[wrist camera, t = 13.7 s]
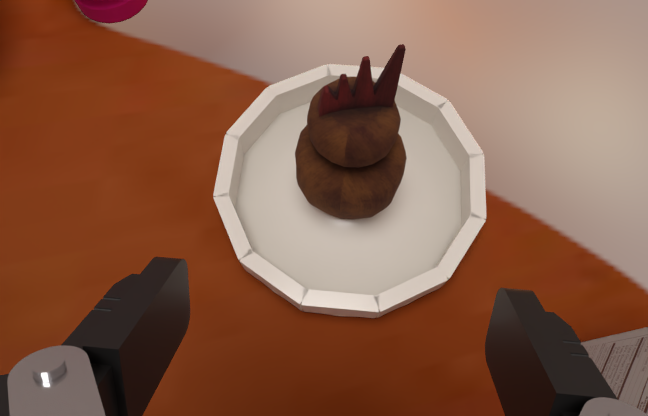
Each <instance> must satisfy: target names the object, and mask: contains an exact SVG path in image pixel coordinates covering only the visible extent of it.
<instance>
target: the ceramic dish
mask: <svg viewBox="0 0 648 416" xmlns="http://www.w3.org/2000/svg"><path fill="white" fill-rule="evenodd" d="M359 68H360V66H351V65H338V64H328V66H327V65H326V64H325V65H323V66H320V67H318V68H315V69H312V70H310V71H308V72H304V73H302V74H299V75H297V76H294V77H292V78H289V79H286V80H284V81H281V82H278V83H276V84H273V85H270V86H268V88H266V89H265V90H264V91H263V92H262V93H261V94H260V95H259V97H258V98H257V99H256V100H255V101H254V102H253V103H252V104H251V106H250V107H249V108H248V109H247V110H246V111H245V112H244V113H243V114H242V116H241V117H240V118H239V119H238V120H237V121H236V122H235V123H234V125H233V126H232V127H231V128H230V129H229V130H228V131H227V132H226V135H225V138H224V143H223V148H222V153H221V158H220V163H219V168H218V174H217V179H216V184H215V189H214V194H213V196H214V197H213V198H214V200H215V203H216V205H217V208H218V210H219V213H220V215H221V218H222V220H223V223H224V225H225V228H226V230H227V233H228V235H229V238H230V240H231V243H232V245H233V247H234V250H235V252H236V255H237V257H238V260H239V261H240V263H241V264H242V266H243V267H244V269H245V270H246V271H247V272H248V273H250V274H251V275H253V276H254V277H255V278H257V279H258V280H260V281H261V282H262V283H264V284H265V285H266V286H267V287H268V288H270V289H271V290H272V291H273V292H275V293H276V294H278V295H279V296H281V297H283V298H284V299H286V300H287V301H289V302H290V303H291V304H293V305H294V306H295V307H297V308H298V309H300V310H301V311H302V310H303V312H313V313H321V314H327V315H333V316H343V317H366V318H375V317H377V318H378V317H380V316H382V315H384V314H386V313H388V312H390V311H393V310H395V309H397V308H400V307H402V306H405V305H407V304H409V303H411V302H413V301H414V300H416V299H418V298H420V297H422V296H424V295H426V294H428V293H430V292H433V291H435V290H437V289H439V288H440V287H442V286H443V285H444V284H445V283H446V282H447V281H448V280H449V279H450V277H451V276H452V274H453V272H454V271H455V269H456V268H457V266H458V264H459V263H460V261H461V260H462V258H463V256H464V255H465V253H466V251H467V250H468V248H469V247H470V245H471V243H472V242H473V240H474V239H475V237H476V235H477V234H478V232H479V231H480V229H481V227H482V226H483V224H484V223H485V221H486V193H485V166H484V165H485V162H484V155H483V151H482V150H481V148H480V147H479V145H478V144H477V142H476V141H475V139H474V138H473V136H472V135H471V133H470V131H469V130H468V129H467V127H466V125H465V124H464V122H463V121H462V119H461V118H460V116H459V115H458V113H457V112H456V110H455V109H454V107H453V106H452V104H451V103H450V101H448V99H446V98H444V97H443V96H441V95H439V94H437V93H435V92H433V91H432V90H430V89H428V88H426V87H425V86H423V85H421V84H419V83H417V82H416V81H414V80H412V79H410V78H408V77H407V76H405V75H403V74H401V73H400V77H399V82H398V87H397V92H396V96H395V103H396V105H397V108H398V111H399V114H400V118H401V122H400V128H399V132H398V134H399V135H400V136H401V138H402V141H403V145H404V148H405V151H406V158H407V159H406V164H405V170H404V175H403V177H402V180H401V183H400V185H399V187H398V189H397V191H396V193H395V196H394V198H393V200H392V202H391V204H390V205H389V206H388V207H387V208H385V209H384V210H382V211H381V212H379V213H378V214H376V215H375V216H373V217H370V218H363V219H354V220H350V219H340V218H337V217H334V216H331V215H329V214H326V213H325V212H323V211H321V210H319V209H318V208H316V207H314V206H312V205H311V204H310V203H309V202H308V201H307V199H306V198H305V196H304V194H303V193H302V191H301V189H300V188H299V186H298V183H297V179H296V159H295V150H296V147H297V143H298V139H299V136H300V133H301V131H302V130H303V129H304V127H305V126H306V125H307V115H308V111H309V106H310V102H311V100H312V98H313V96H314V95H315V94H316V93H317V92H318V91H319V90H320V89H321V88H322V87H323V86H325V85H327V84H329V83H331V82H333V81H335V80H337V79H339V78H340V75H341V74H346V75H347V77H357V74H358V71H359ZM383 70H384V68H379V67H371V75H372V81H374V82H376V81H377V80H378V78H379V76H380V75H381V73H382V71H383Z"/></svg>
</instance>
